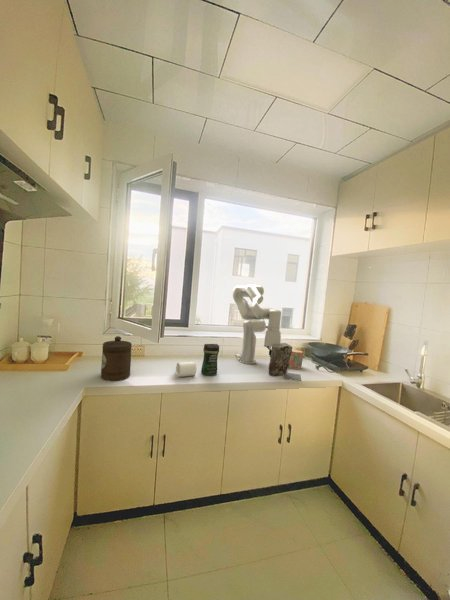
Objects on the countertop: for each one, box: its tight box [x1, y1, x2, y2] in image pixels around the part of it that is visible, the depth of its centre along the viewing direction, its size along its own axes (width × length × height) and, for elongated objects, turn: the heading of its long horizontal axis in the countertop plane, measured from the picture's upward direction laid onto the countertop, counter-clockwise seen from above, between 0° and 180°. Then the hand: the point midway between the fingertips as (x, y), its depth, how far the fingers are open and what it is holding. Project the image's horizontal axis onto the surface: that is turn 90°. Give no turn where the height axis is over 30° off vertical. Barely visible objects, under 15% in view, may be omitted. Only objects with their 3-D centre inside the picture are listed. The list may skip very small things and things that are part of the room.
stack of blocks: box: [287, 349, 304, 370], centre depth 187 cm, size 21×6×12 cm, turn 87°
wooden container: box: [100, 335, 132, 382], centre depth 140 cm, size 15×15×22 cm
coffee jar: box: [200, 343, 220, 376], centre depth 157 cm, size 10×8×19 cm
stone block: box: [268, 342, 293, 377], centre depth 166 cm, size 13×7×20 cm, turn 128°
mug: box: [175, 361, 197, 378], centre depth 153 cm, size 12×10×8 cm
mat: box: [282, 371, 302, 382], centre depth 166 cm, size 11×12×1 cm
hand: (271, 356), depth 168 cm, fingers closed
